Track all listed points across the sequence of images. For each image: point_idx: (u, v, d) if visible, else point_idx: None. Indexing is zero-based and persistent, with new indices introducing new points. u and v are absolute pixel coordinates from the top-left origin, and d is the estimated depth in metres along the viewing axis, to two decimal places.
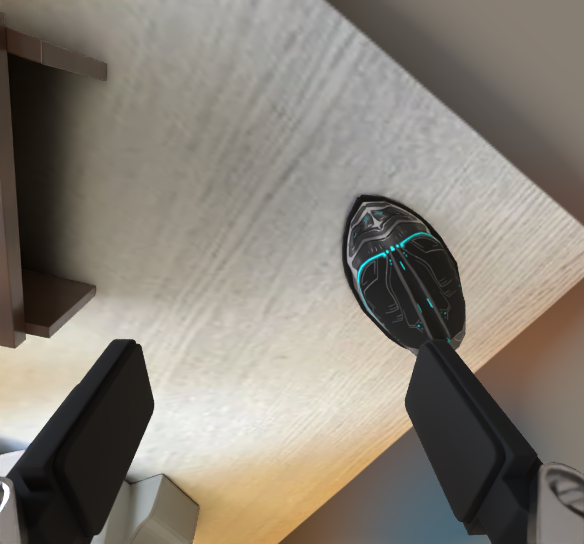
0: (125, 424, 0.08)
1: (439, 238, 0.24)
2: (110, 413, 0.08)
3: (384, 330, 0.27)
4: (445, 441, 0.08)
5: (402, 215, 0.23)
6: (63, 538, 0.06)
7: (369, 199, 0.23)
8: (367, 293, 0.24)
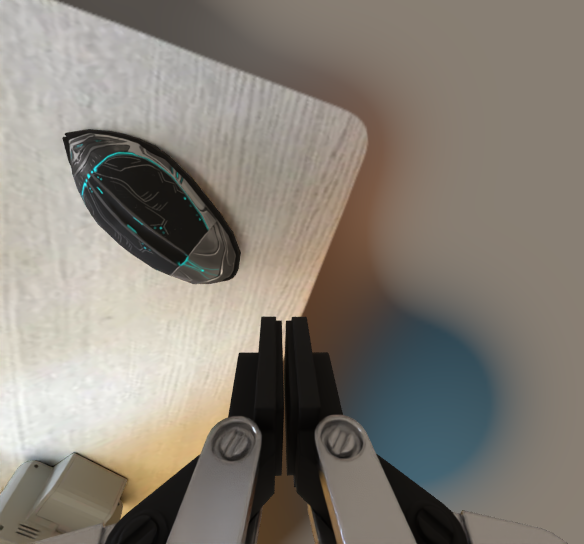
0: None
1: (163, 156, 0.23)
2: None
3: None
4: (287, 406, 0.09)
5: (102, 141, 0.22)
6: None
7: (72, 135, 0.23)
8: (105, 229, 0.24)
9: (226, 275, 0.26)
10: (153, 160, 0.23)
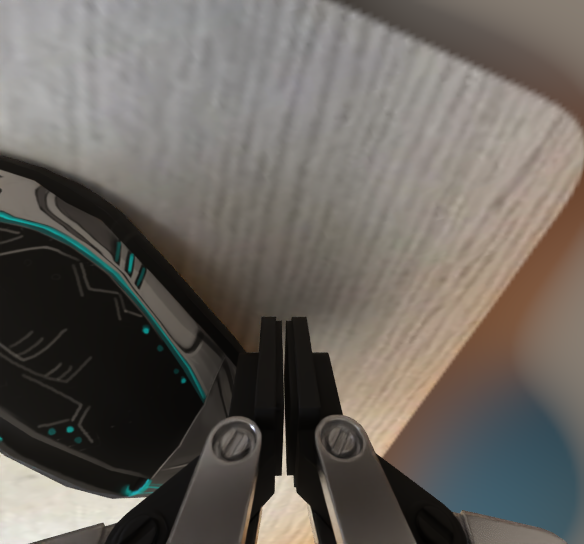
0: None
1: (99, 214, 0.10)
2: None
3: None
4: (286, 406, 0.09)
5: None
6: None
7: None
8: None
9: None
10: (65, 230, 0.09)
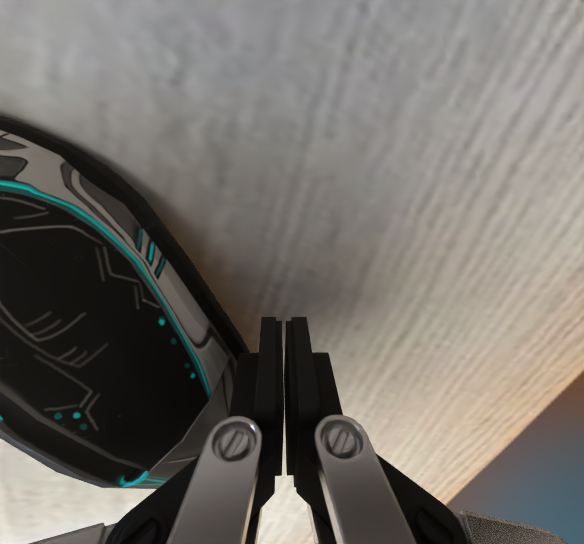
0: None
1: (123, 198, 0.09)
2: None
3: None
4: (286, 406, 0.09)
5: None
6: None
7: None
8: None
9: None
10: (90, 210, 0.08)
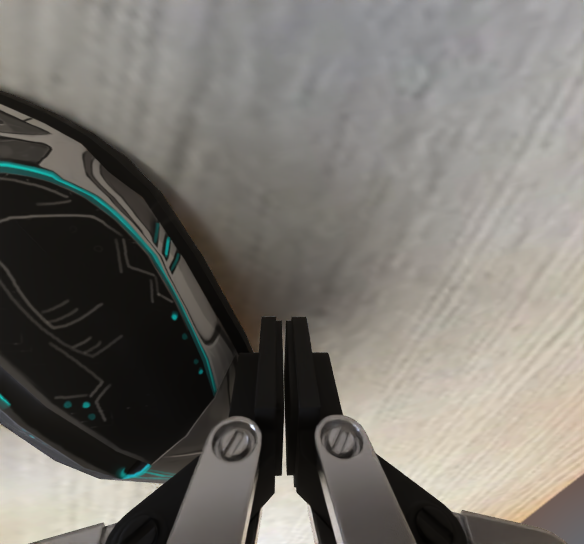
0: None
1: (142, 191, 0.09)
2: None
3: None
4: (287, 406, 0.09)
5: None
6: None
7: None
8: None
9: None
10: (110, 201, 0.08)
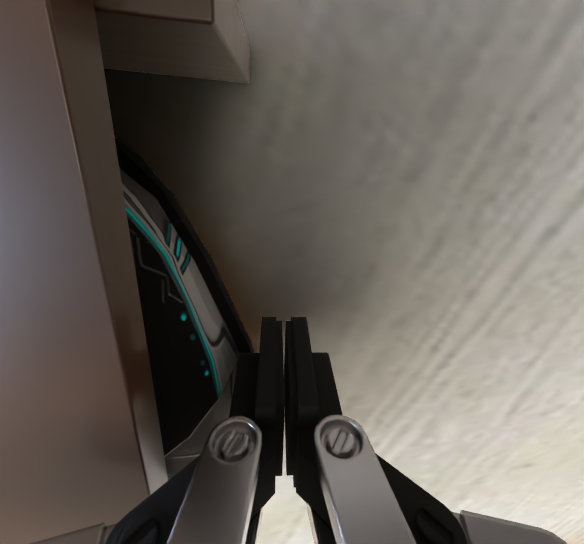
0: None
1: (156, 191, 0.09)
2: None
3: None
4: (286, 406, 0.09)
5: None
6: None
7: None
8: None
9: None
10: (126, 201, 0.08)
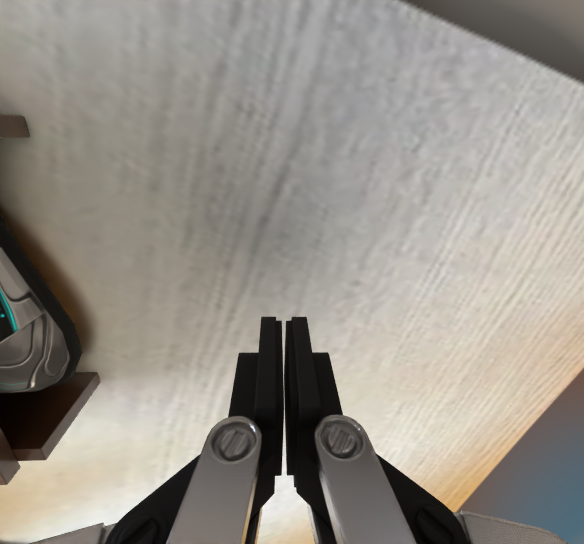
0: None
1: None
2: None
3: None
4: (287, 406, 0.09)
5: None
6: None
7: None
8: None
9: (44, 386, 0.18)
10: None
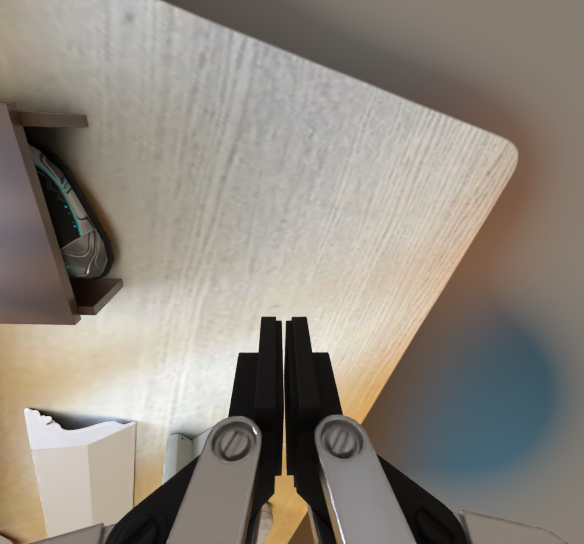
0: None
1: (60, 167, 0.28)
2: None
3: None
4: (287, 406, 0.09)
5: None
6: None
7: None
8: None
9: (93, 275, 0.31)
10: (47, 169, 0.27)
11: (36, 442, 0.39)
